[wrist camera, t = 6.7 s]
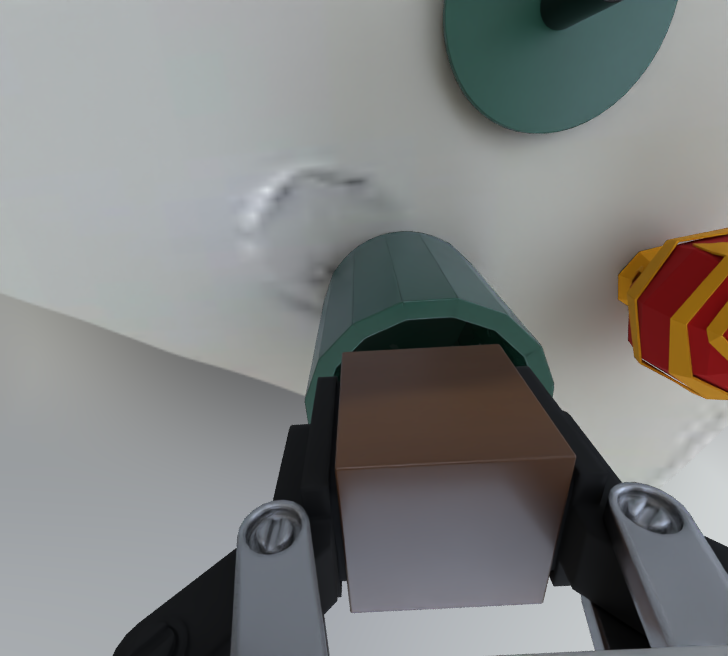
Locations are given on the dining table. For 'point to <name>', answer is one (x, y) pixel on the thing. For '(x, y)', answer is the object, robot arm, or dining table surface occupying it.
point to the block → (446, 480)
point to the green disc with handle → (551, 56)
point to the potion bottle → (681, 311)
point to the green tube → (414, 307)
